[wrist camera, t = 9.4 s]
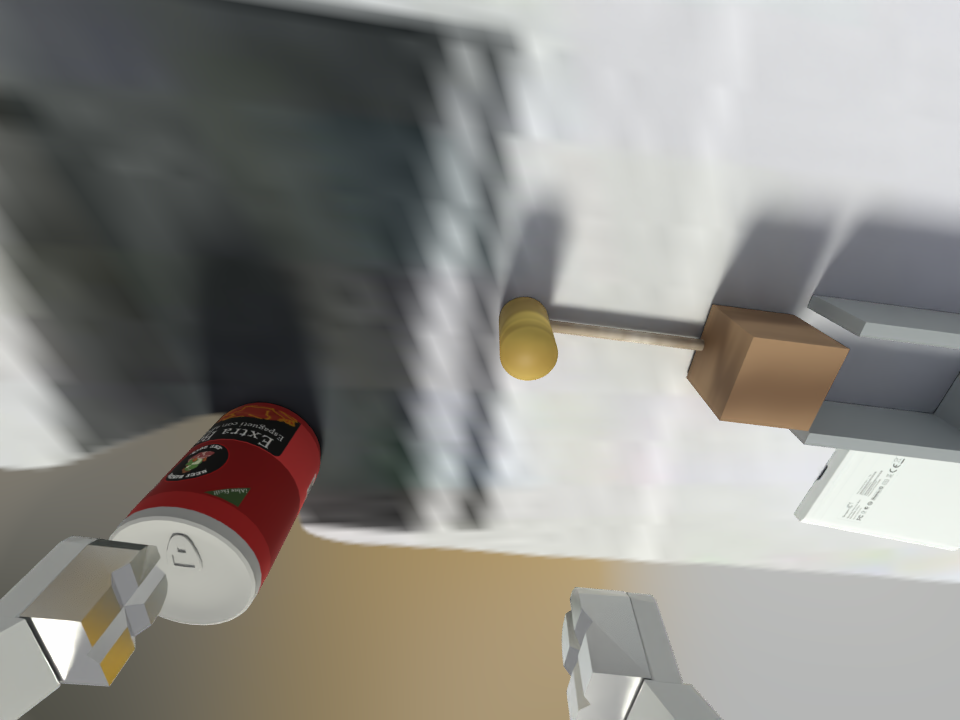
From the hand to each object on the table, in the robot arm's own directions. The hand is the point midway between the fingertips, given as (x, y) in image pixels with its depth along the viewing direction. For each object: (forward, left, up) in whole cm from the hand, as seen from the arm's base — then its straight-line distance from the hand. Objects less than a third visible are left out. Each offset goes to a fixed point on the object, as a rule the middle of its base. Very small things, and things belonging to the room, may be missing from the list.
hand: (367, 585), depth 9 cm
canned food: (+14, -12, -21) cm, 28 cm away
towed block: (+2, +12, -21) cm, 24 cm away
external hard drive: (+11, +34, -22) cm, 42 cm away
